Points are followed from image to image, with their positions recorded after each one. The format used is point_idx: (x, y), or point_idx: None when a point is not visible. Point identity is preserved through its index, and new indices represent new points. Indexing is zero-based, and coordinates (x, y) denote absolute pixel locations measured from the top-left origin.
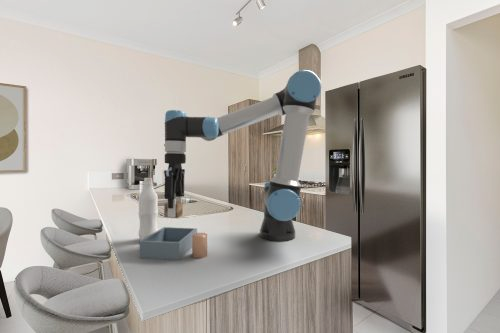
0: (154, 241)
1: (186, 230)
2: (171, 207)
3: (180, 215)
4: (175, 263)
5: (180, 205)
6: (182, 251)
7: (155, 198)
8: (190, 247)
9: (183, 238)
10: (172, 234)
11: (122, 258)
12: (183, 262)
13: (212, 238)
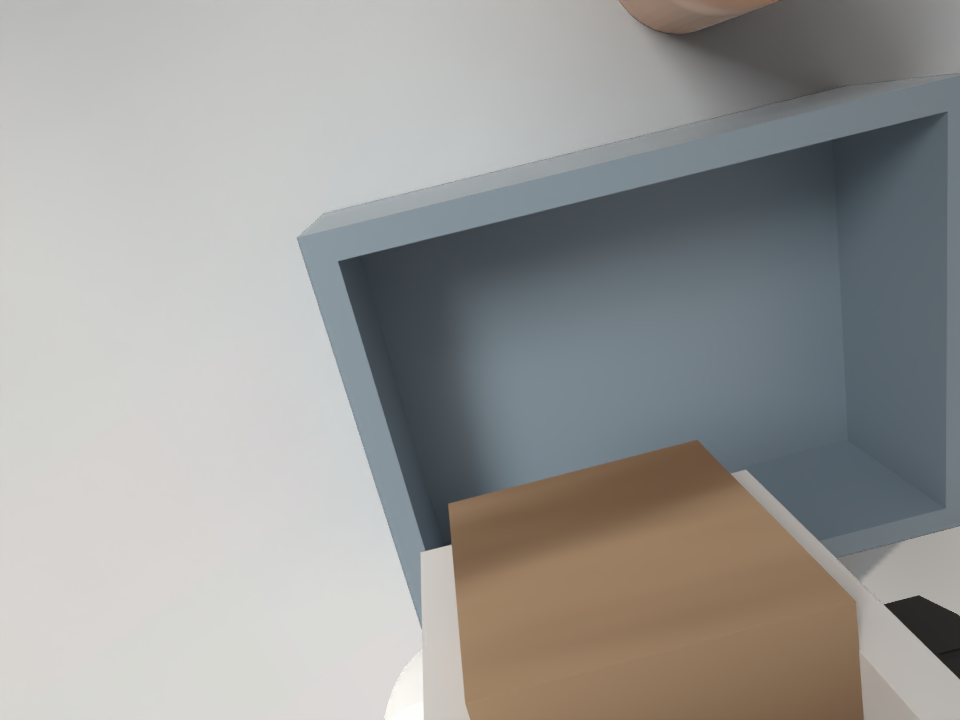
0: (956, 386)
1: (373, 368)
2: (947, 615)
3: (548, 485)
4: (919, 74)
5: (622, 610)
6: (799, 101)
7: None
8: (547, 160)
9: (798, 135)
10: (423, 508)
11: (887, 550)
12: (886, 10)
13: (90, 106)
